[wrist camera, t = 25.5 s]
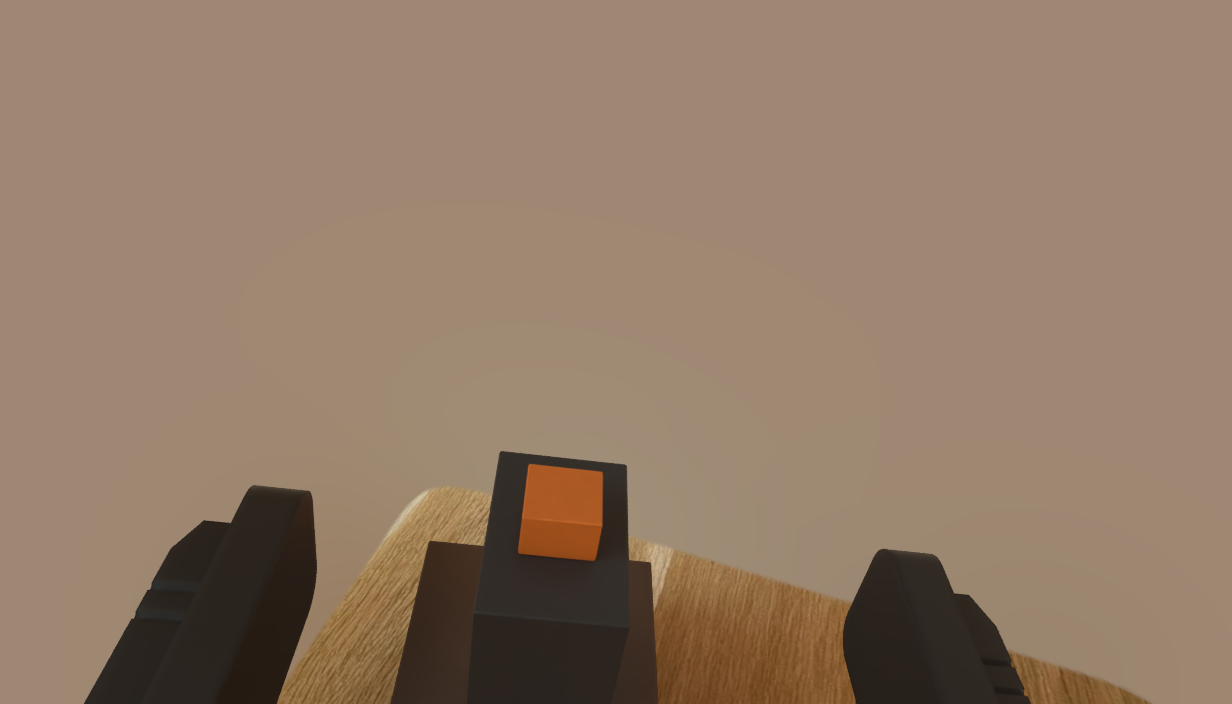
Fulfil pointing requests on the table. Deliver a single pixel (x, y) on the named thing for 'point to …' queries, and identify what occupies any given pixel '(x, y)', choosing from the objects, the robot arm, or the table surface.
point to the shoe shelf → (444, 625)
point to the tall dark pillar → (552, 584)
